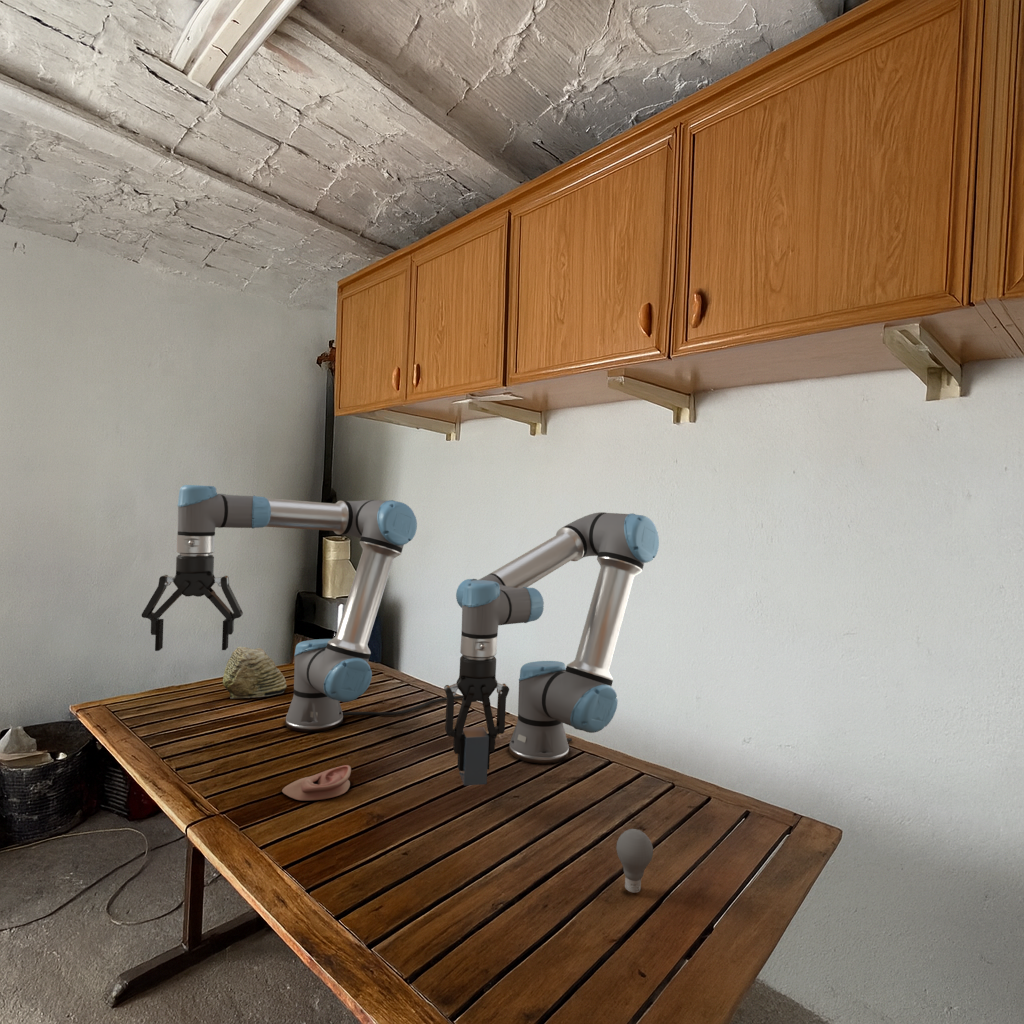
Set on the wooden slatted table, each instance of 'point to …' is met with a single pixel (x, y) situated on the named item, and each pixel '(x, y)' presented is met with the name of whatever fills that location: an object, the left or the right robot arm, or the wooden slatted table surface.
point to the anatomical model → (320, 785)
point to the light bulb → (634, 857)
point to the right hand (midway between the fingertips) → (473, 767)
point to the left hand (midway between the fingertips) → (192, 649)
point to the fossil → (252, 674)
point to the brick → (475, 756)
